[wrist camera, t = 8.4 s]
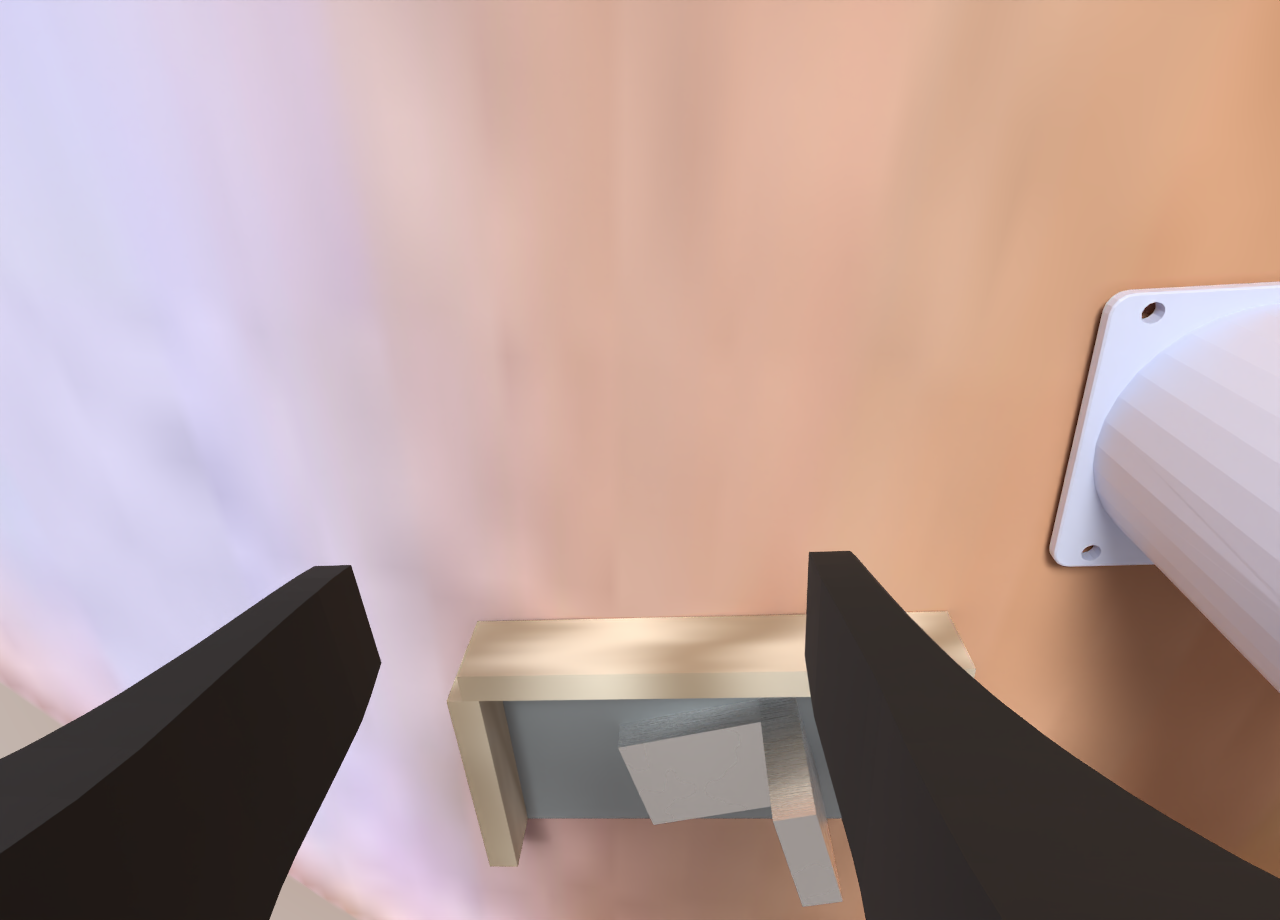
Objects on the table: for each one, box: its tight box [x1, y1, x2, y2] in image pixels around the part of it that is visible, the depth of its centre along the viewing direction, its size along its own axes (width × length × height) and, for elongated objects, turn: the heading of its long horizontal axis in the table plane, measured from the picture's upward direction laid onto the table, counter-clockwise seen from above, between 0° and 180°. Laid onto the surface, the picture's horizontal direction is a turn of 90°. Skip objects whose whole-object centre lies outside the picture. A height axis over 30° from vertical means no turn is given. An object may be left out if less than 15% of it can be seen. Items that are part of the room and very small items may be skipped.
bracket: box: [618, 697, 843, 907], centre depth 23 cm, size 6×4×4 cm, turn 107°
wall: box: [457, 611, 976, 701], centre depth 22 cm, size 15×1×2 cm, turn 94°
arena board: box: [503, 697, 842, 818], centre depth 25 cm, size 14×8×1 cm, turn 94°
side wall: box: [447, 647, 528, 867], centre depth 25 cm, size 1×8×2 cm, turn 4°
